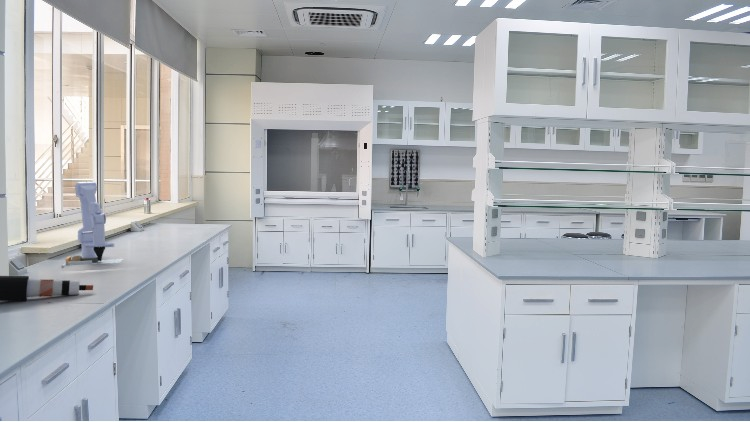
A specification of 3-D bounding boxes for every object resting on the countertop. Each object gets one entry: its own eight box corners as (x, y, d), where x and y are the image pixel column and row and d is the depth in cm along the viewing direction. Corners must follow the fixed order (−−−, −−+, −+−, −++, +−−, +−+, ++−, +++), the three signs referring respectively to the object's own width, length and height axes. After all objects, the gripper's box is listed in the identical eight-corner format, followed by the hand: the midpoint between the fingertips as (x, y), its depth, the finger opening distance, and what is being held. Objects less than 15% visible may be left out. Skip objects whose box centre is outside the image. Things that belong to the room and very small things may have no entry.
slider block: (73, 261, 284) (73, 255, 283) (81, 261, 285) (81, 255, 285) (72, 263, 280) (71, 256, 280) (80, 262, 282) (80, 256, 281)
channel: (66, 263, 286) (66, 255, 286) (123, 261, 295) (122, 253, 294) (61, 267, 276) (61, 259, 275) (120, 264, 284) (119, 256, 284)
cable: (91, 304, 224) (93, 286, 220) (-5, 306, 207) (-5, 286, 203) (92, 289, 232) (94, 271, 227) (-1, 289, 215) (-1, 270, 210)
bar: (81, 262, 284) (81, 257, 284) (98, 261, 287) (97, 257, 287) (80, 263, 282) (80, 258, 282) (97, 262, 285) (97, 258, 284)
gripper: (82, 237, 279) (83, 262, 280) (112, 236, 283) (113, 261, 285) (85, 235, 285) (86, 260, 287) (114, 234, 290) (115, 258, 291)
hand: (99, 260), depth 286 cm, fingers closed
